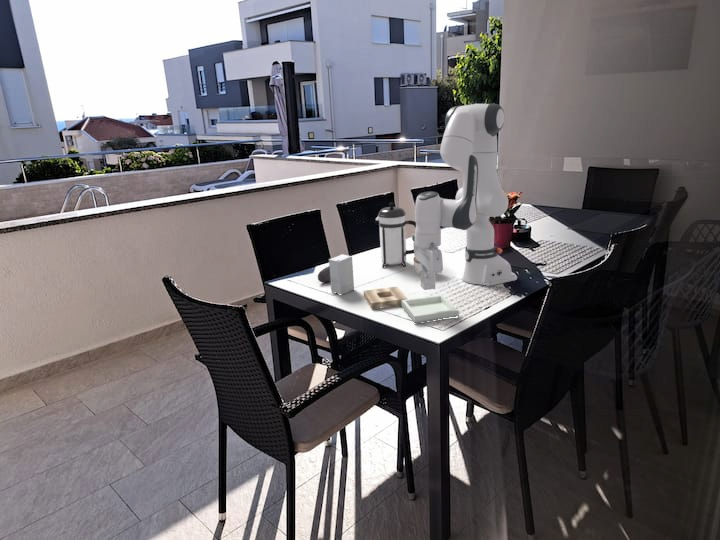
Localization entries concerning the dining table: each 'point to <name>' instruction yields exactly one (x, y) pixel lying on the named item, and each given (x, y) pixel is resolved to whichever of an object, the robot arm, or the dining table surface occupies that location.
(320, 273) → the perforated stone tool
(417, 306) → the tray
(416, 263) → the lidded jar
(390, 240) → the coffee press
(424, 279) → the pin
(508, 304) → the dining table surface
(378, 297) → the socket block
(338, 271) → the skincare box
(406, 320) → the dining table surface
